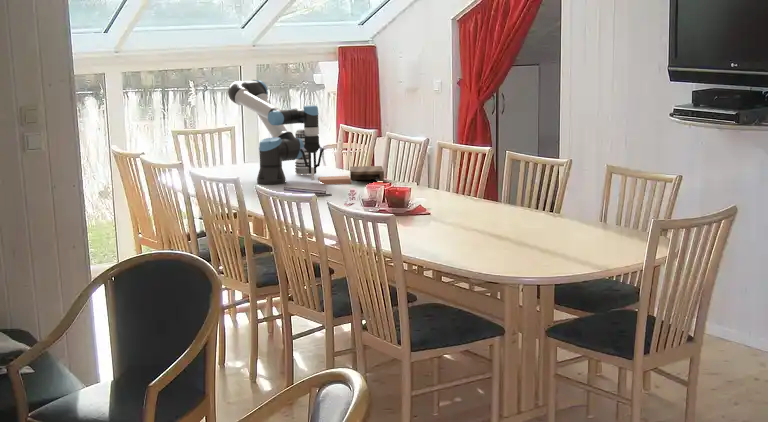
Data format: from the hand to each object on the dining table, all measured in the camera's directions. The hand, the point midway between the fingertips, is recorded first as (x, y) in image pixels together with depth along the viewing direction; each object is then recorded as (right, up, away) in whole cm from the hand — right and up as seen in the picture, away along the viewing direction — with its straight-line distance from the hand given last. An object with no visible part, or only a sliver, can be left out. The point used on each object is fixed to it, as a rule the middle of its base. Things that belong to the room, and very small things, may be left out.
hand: (312, 179), depth 504 cm
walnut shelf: (+28, -1, +2) cm, 28 cm away
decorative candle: (-8, +4, +32) cm, 33 cm away
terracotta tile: (+11, -2, +1) cm, 12 cm away
